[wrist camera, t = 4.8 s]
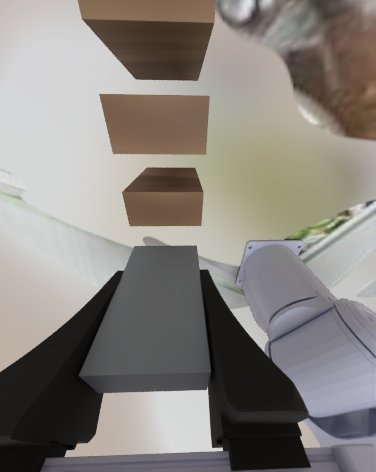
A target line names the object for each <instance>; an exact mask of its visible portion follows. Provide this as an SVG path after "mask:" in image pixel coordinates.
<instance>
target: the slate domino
mask: <svg viewBox="0 0 376 472" xmlns="http://www.w3.org/2000/svg"><path fill="white" fill-rule="evenodd" d="M210 374H211V367H210V358H209V350H208V341H207V332H206V323H205V314H204V306H203V297H202V288H201V281H200V271H199V262H198V253H197V246H135V247H134V249H133V251H132V254H131V256H130V258H129V261H128V263H127V265H126V268H125V270H124V272H123V275H122V278H121V281H120V282H119V284H118V286H117V288H116V291H115V293H114V295H113V298H112V300H111V302H110V305H109V307H108V309H107V312H106V314H105V316H104V318H103V321H102V323H101V325H100V328H99V330H98V332H97V335H96V337H95V339H94V342H93V344H92V346H91V348H90V351H89V353H88V355H87V358H86V360H85V362H84V365H83V367H82V369H81V372H80V374H79V377H81V378H82V379H83V380H84V381H85V382H86V383H88V384H89V385H90V386H91V387H92V388H93V389H95V390H96V391H97V392H98V393H114V392H115V393H117V392H150V391H182V390H183V391H184V390H206V389H207V386H208V382H209V378H210Z"/></svg>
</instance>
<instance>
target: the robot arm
mask: <svg viewBox="0 0 376 472" xmlns="http://www.w3.org/2000/svg"><path fill="white" fill-rule="evenodd" d="M303 245H304V241H302V240H250V241H248V242H247V244H246V247H245V251H244V255H243V258H242V262H241V265H240V269H239V273H238V276H237V280H236V286H237V287H242V288H243V291H244V293H245V296H246V299H247V301H248V304H249V307H250V309H251V312H252V314H253V317H254V319H255V321H256V323H257V324H258V325H259V327H260V328H261V329H262V330H263V331H264V332H266V333H267V336H268V338H269V340H268V342H267V343H266V345H265V353H264V352H263V351H262V349H261V348H260V347H259V346H258V345H257V344H256V342H255V341H254V340H253V339H252V338H251V337H250V336H249V334H248V333H247V332H246V331H245V329H244V328H243V327H242V326H241V324H240V323H239V322H238V321H237V319H236V318H235V316H234V315H233V313H232V312H231V311H230V309H229V308H228V306H227V305H226V303H225V301H224V300H223V298H222V296H221V295H220V293H219V291H218V290H217V288H216V286H215V284H214V282H213V280H212V278H211V276H210V273H209V271H208V270H199V271H200V281H201V288H202V297H203V306H204V314H205V323H206V332H207V341H208V350H209V358H210V367H211V374H210V378H209V382H208V394H209V409H210V426H211V439H212V448H219V447H220V448H221V447H223V451H217V452H190V453H165V454H142V455H141V454H140V455H113V456H87V457H64V456H65V453H66V451H67V450H74V449H75V447H76V445H77V443H88V442H89V441H90V440H91V439H92V438H93V436H94V435H95V434H96V429H97V424H98V418H99V413H100V408H101V403H102V398H103V393H98V392H97V391H96V390H95V389H93V388H92V387H91V386H90V385H89V384H88V383H86V382H85V381H84V380H83V379H82V378H81V377H79V374H80V372H81V369H82V367H83V365H84V362H85V360H86V358H87V355H88V353H89V351H90V348H91V346H92V344H93V342H94V339H95V337H96V335H97V332H98V330H99V328H100V325H101V323H102V321H103V318H104V316H105V314H106V312H107V309H108V307H109V305H110V302H111V300H112V298H113V295H114V293H115V291H116V288H117V286H118V284H119V282H120V281H121V278H122V275H123V272H124V271H117V272H116V273H115V274H114V275H113V276H112V277H111V279H110V280H109V281H108V282H107V283H106V284H105V285H104V286H103V287H102V288H101V289H100V291H99V292H98V293H97V294H96V295H95V296H94V297H93V298H92V299H91V300H90V301H89V302H88V303H87V304H86V305H85V306H84V307H83V308H82V309H81V310H80V311H79V312H77V313H76V314H75V315H74V316H73V317H72V318H71V319H70V320H69V321H68V322H66V323H65V324H64V325H63V326H62V327H60V328H59V329H58V330H57V331H56V332H54V333H53V334H52V335H51V336H49V337H48V338H47V339H45V340H44V341H43V342H42V343H40V344H39V345H38V346H36V347H35V348H34V349H32V350H31V351H30V352H28V353H27V354H26V355H24V356H23V357H22V358H20V359H19V360H17V361H16V362H15V363H13V364H11V365H10V366H9V367H7V368H6V369H4V370H3V371H1V372H0V472H376V313H375V312H373V311H372V310H371V309H369V308H368V307H366V306H364V305H363V304H361V303H359V302H356V301H351V300H348V299H344V298H342V299H339V300H337V299H336V298H335V296H334V295H333V294H332V293H331V292H330V291H329V290H328V289H327V288H326V287H325V286H324V285H323V283H322V282H321V281H320V280H319V279H318V278H317V277H316V276H315V275H314V274H313V273H312V271H311V270H310V269H309V268H308V267H307V266H306V265H305V264H304V263H303V262H302V261H301V260H300V258H299V257H298V255H299V253H300V251H301V249H302V247H303ZM249 246H251V247H249ZM302 420H303V421H304V422H305V423H306V425H307V426H308V427H309V428H310V430H311V431H312V432H313V434H314V436H315V437H316V439H317V440H318V442H319V443H320V445H321V446H322V447H320V448H304V447H303V444H302V441H301V439H300V436H302V434H301V431H300V428H299V426H298V422H300V421H302Z"/></svg>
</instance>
